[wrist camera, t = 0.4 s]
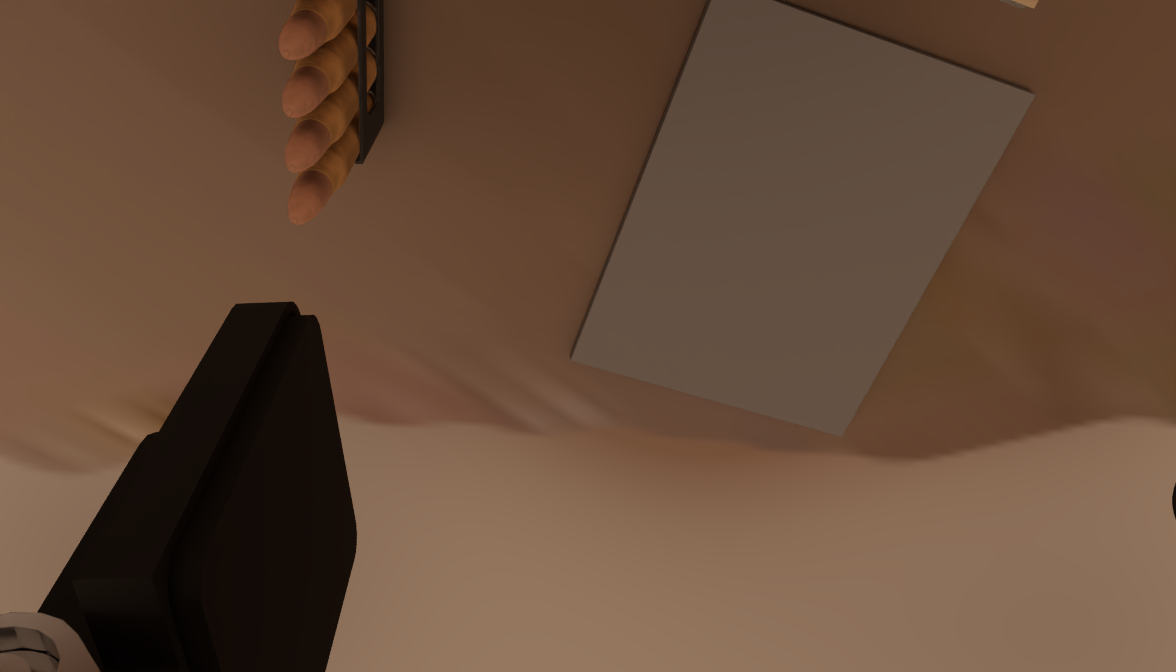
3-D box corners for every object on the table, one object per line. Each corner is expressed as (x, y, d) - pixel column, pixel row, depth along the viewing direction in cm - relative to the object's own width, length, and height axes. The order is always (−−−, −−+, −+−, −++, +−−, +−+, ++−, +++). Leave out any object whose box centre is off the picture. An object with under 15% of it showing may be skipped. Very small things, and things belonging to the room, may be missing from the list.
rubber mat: (716, -23, 40) (718, -19, 40) (1030, 90, 43) (1035, 95, 42) (570, 353, 49) (570, 360, 48) (839, 429, 51) (841, 437, 51)
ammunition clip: (384, 126, 43) (325, 251, 33) (338, 122, 43) (266, 246, 33) (382, -156, 38) (312, -114, 27) (331, -162, 38) (241, -121, 27)
